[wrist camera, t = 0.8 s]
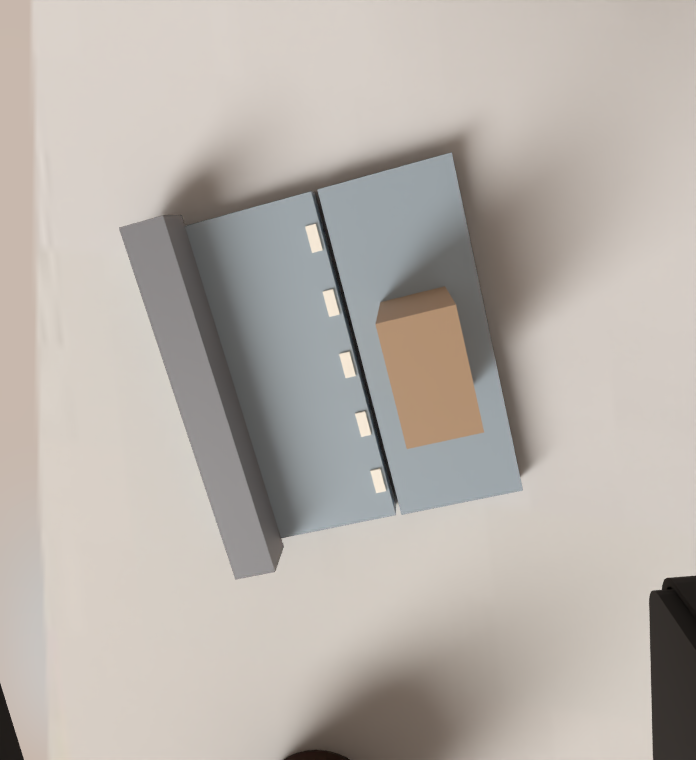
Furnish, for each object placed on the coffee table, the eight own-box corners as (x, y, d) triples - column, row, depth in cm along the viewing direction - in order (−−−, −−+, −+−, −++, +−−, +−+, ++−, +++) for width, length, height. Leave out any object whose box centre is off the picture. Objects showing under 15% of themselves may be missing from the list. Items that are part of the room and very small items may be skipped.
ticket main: (311, 181, 30) (300, 177, 26) (398, 513, 34) (397, 548, 30) (131, 231, 31) (97, 233, 28) (234, 546, 35) (215, 583, 31)
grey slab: (449, 154, 29) (465, 136, 22) (518, 480, 33) (550, 553, 26) (320, 190, 30) (295, 183, 23) (401, 504, 33) (401, 581, 26)
